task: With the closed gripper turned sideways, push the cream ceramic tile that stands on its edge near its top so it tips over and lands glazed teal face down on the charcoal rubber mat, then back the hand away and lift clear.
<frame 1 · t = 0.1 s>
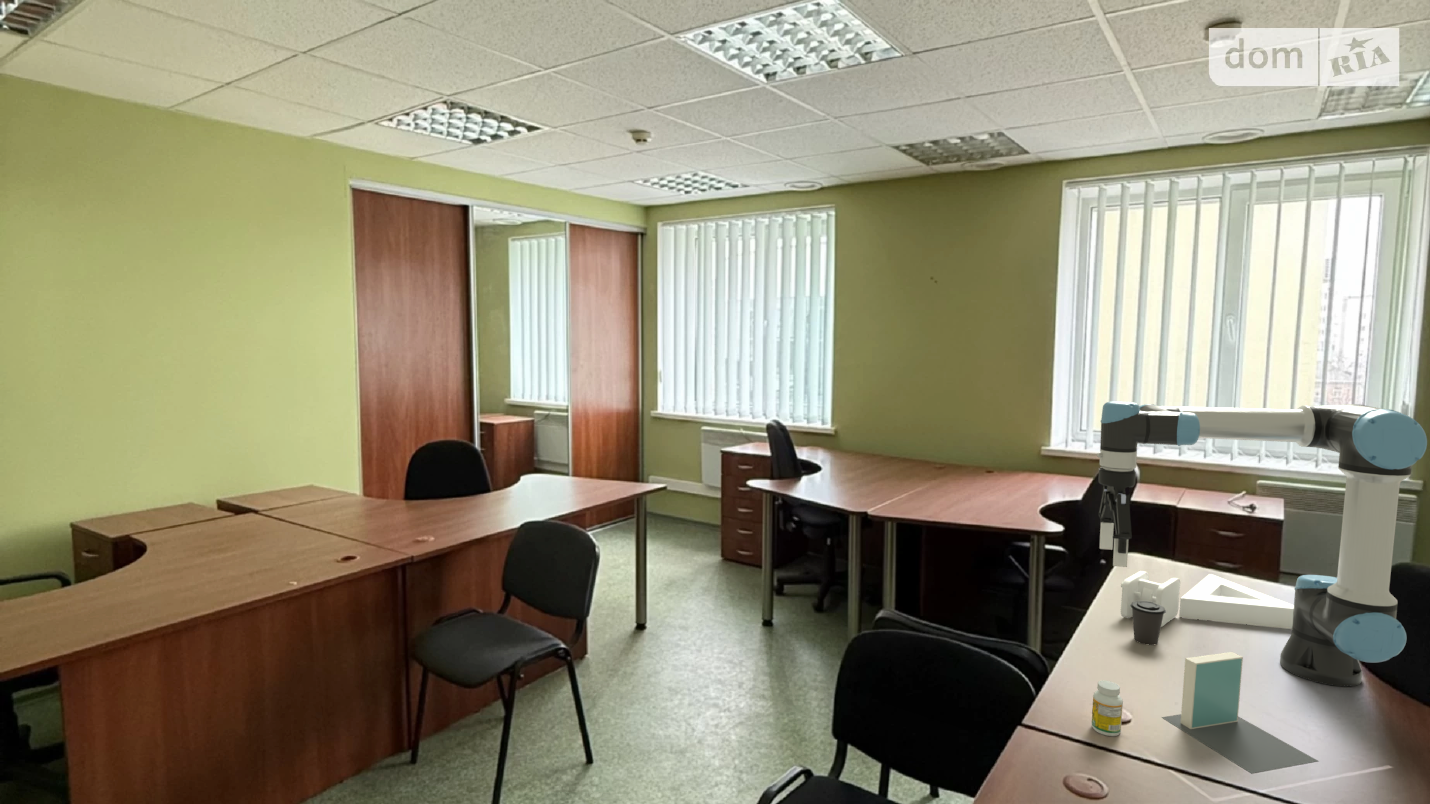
hand: (1112, 557, 174), 28 cm above the table, tool pointing down, fingers open, 13 cm apart
mat: (1235, 740, 147), on the table
supplement bottle: (1105, 730, 151), on the table
cable organizer: (1148, 618, 209), on the table
tile: (1209, 722, 153), resting on mat
coffee cup: (1145, 641, 194), on the table
triangle block: (1223, 609, 217), on the table
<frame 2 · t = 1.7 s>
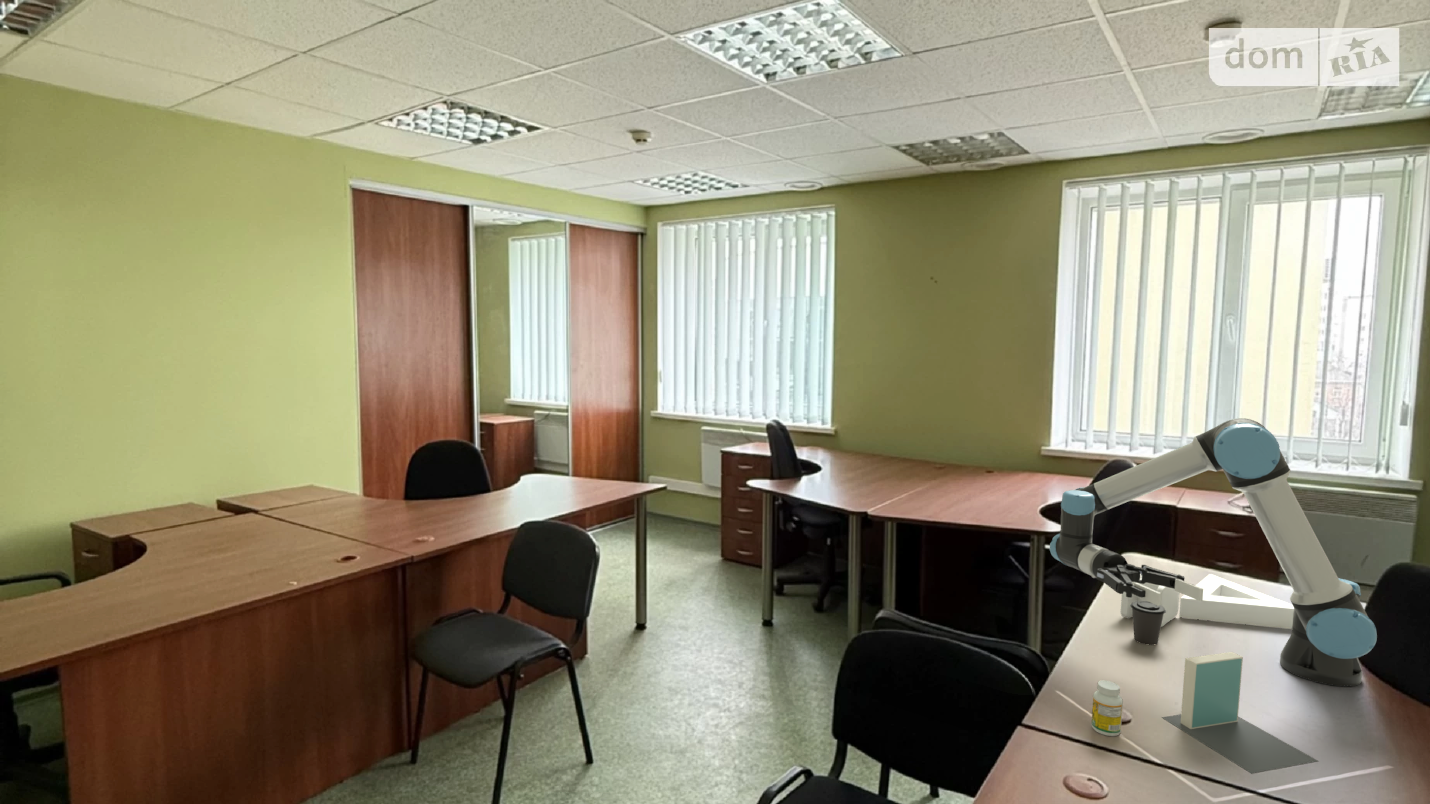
hand: (1180, 597, 159), 24 cm above the table, tool horizontal, fingers open, 10 cm apart
nothing on the table moved.
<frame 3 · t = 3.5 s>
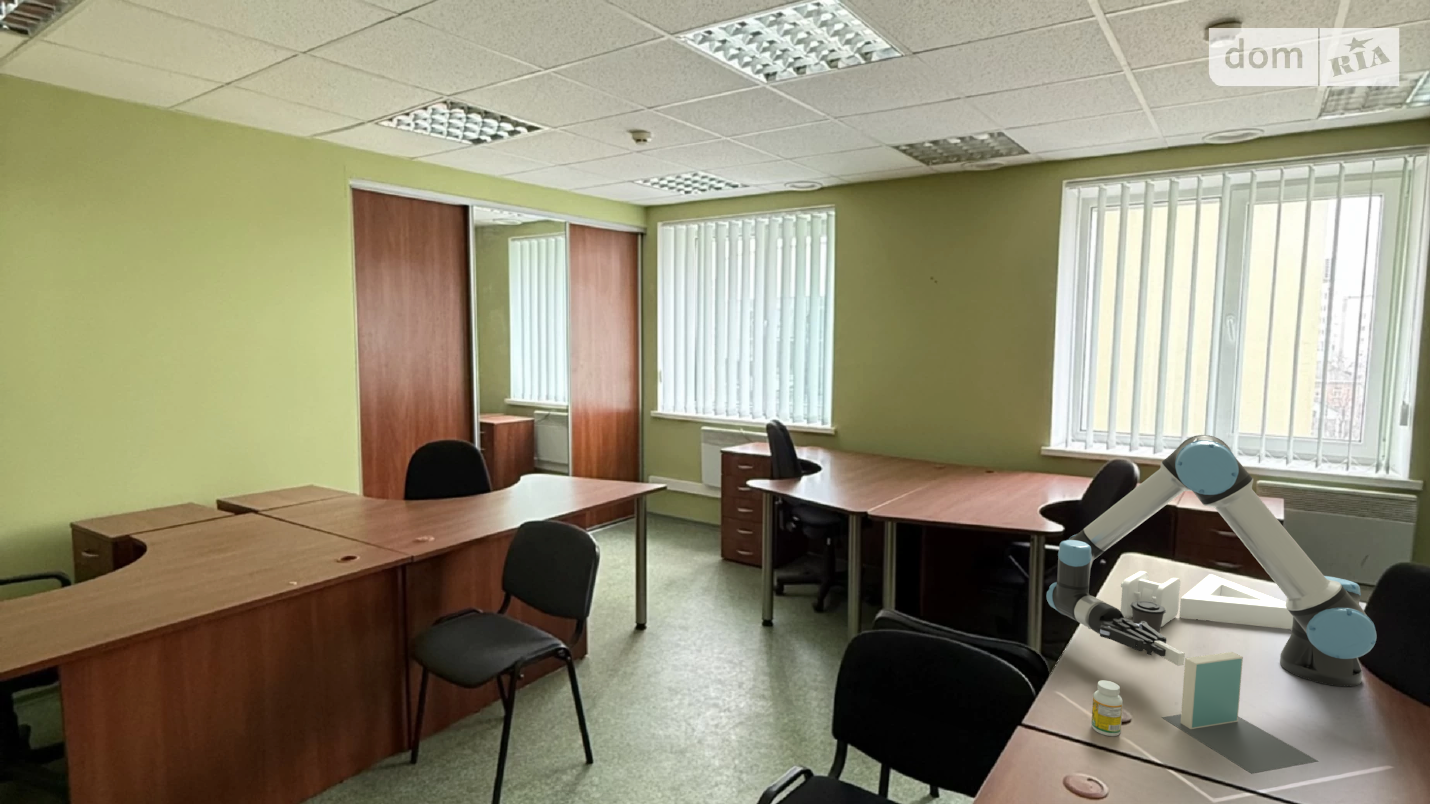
hand: (1181, 659, 159), 11 cm above the table, tool horizontal, fingers closed
nothing on the table moved.
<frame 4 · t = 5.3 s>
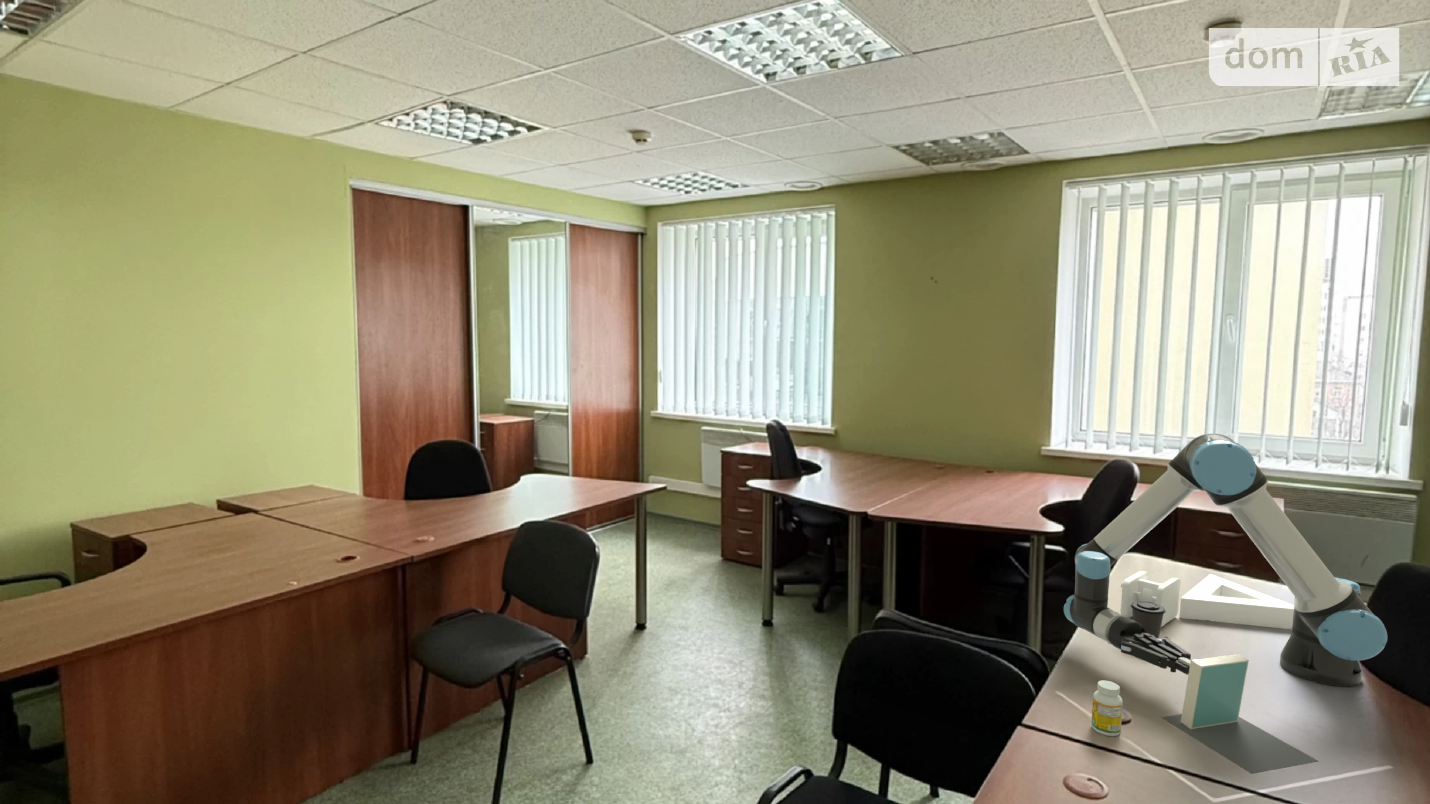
hand: (1207, 677, 153), 10 cm above the table, tool horizontal, fingers closed
tile: (1209, 721, 153), point 1 cm above the table, tilted 5°, touching gripper, mat
everything else where it was.
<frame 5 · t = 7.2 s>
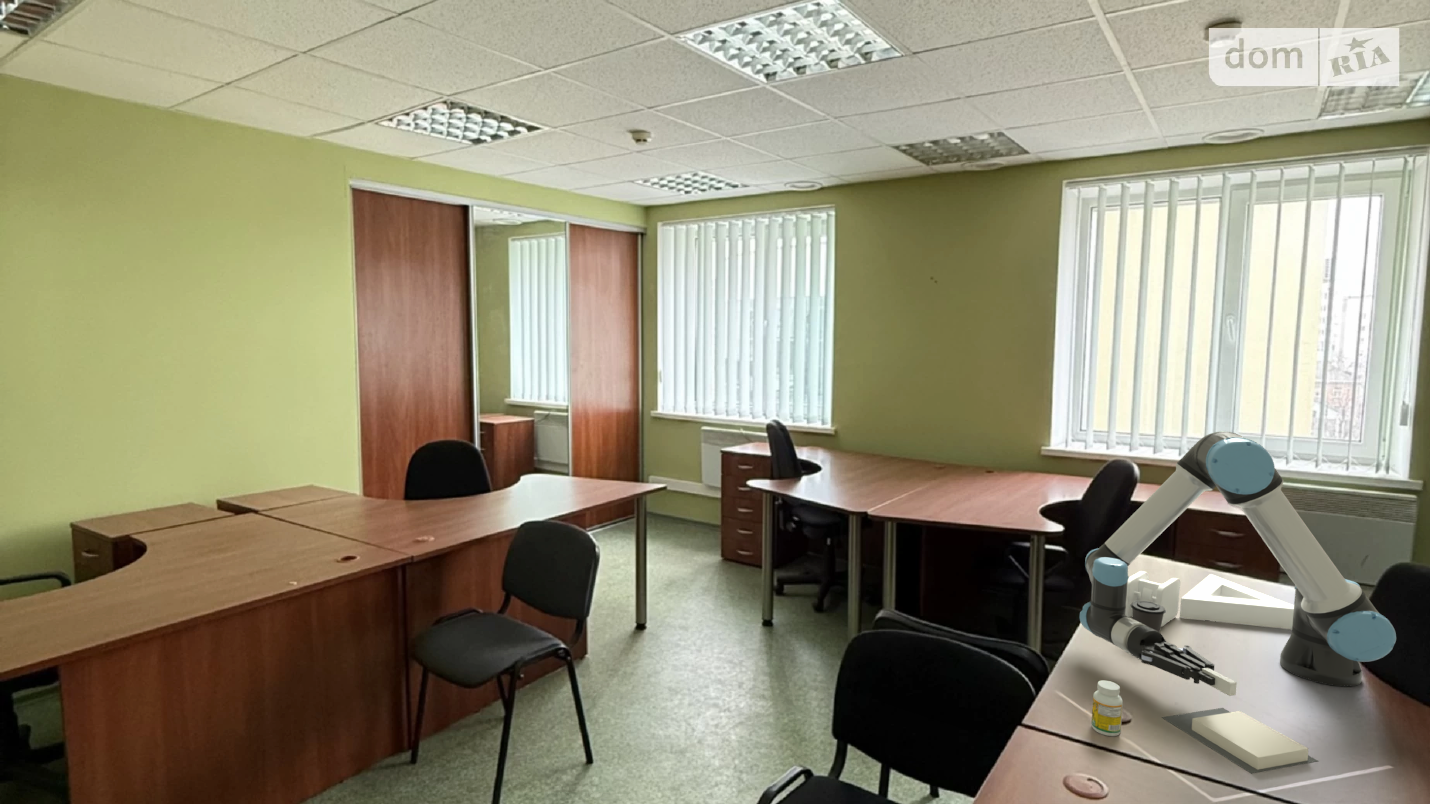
hand: (1233, 689, 148), 10 cm above the table, tool horizontal, fingers closed
tile: (1215, 720, 152), point 2 cm above the table, tilted 90°, touching mat
everything else where it was.
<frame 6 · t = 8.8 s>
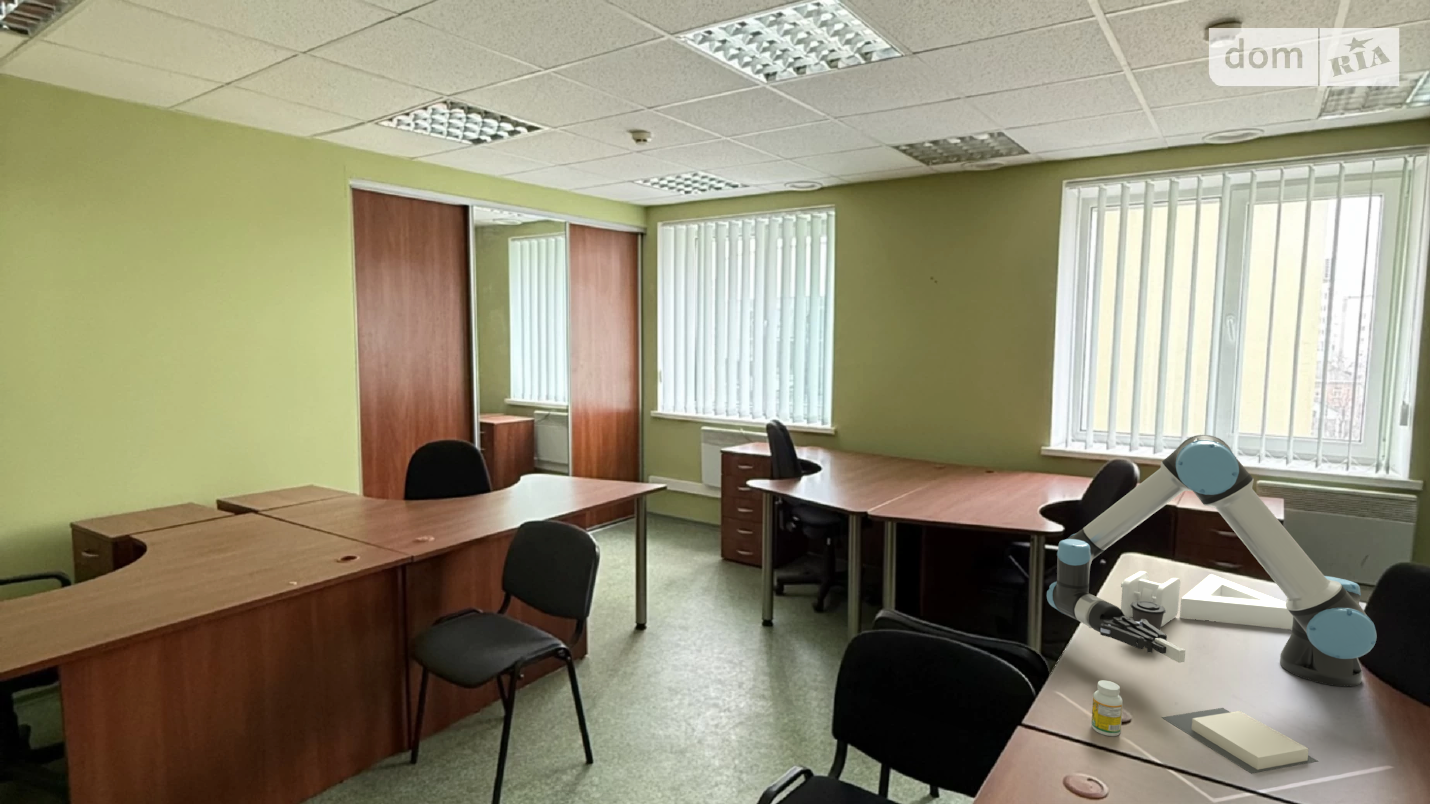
hand: (1181, 656, 159), 11 cm above the table, tool horizontal, fingers closed
nothing on the table moved.
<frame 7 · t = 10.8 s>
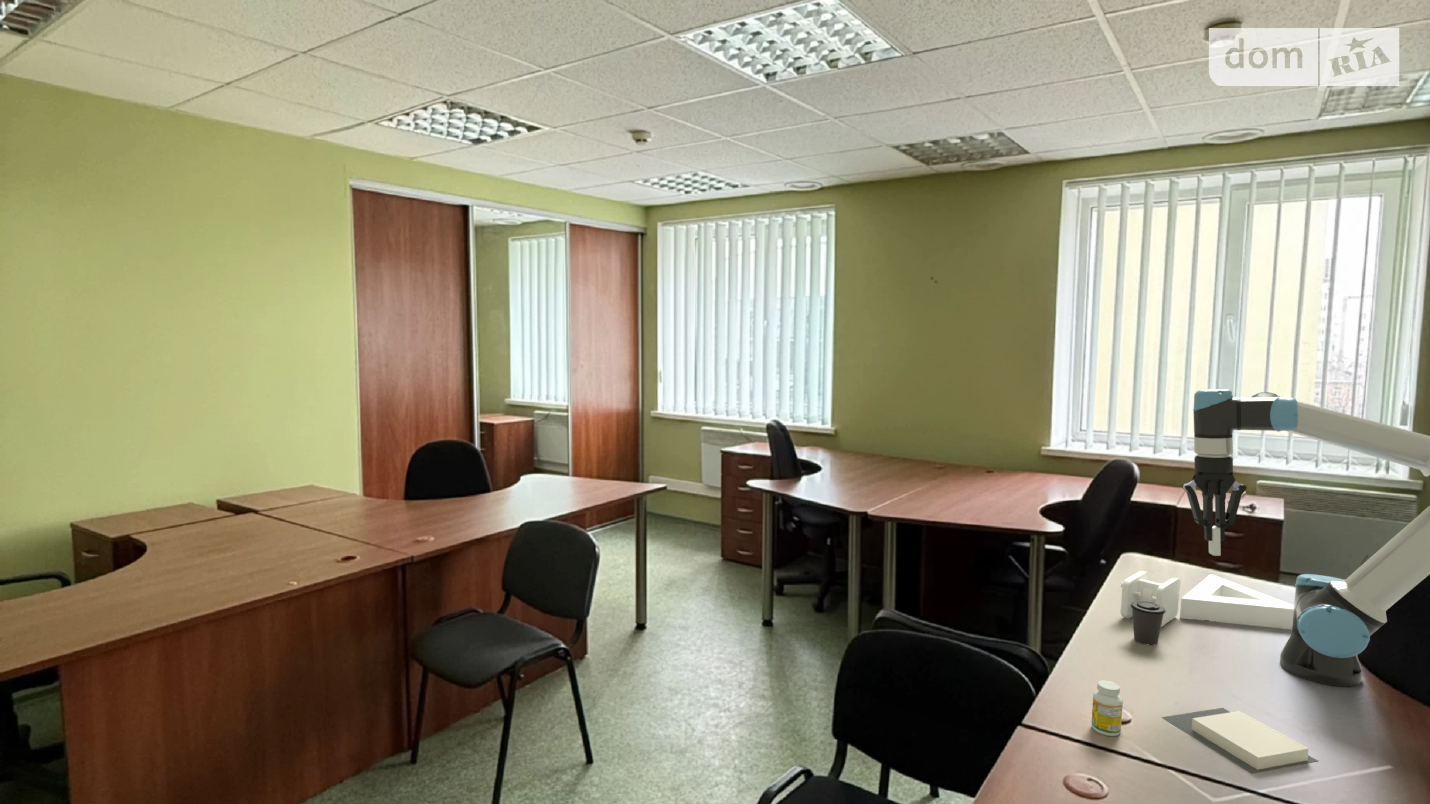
hand: (1214, 554, 175), 28 cm above the table, tool pointing down, fingers closed
nothing on the table moved.
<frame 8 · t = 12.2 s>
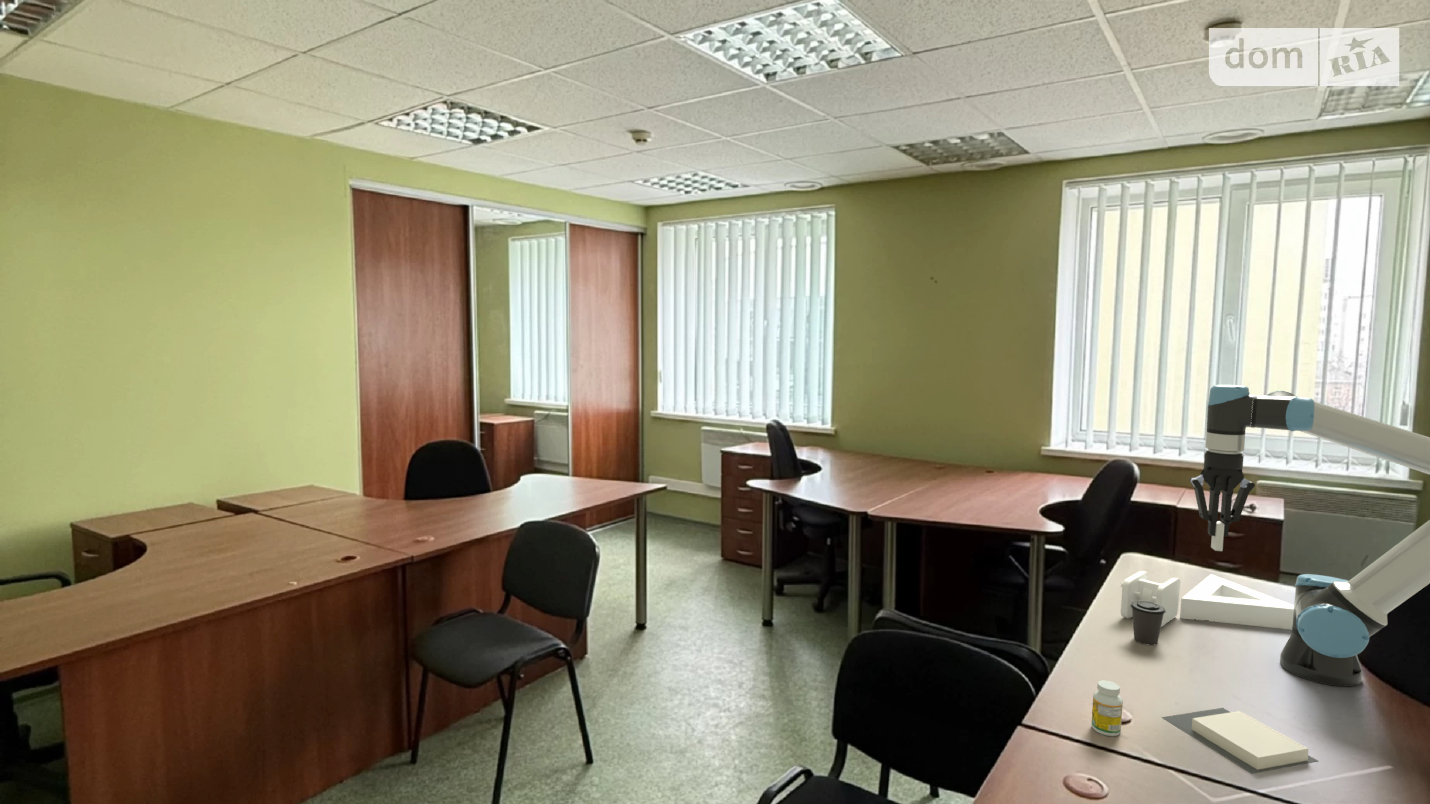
hand: (1216, 549, 175), 29 cm above the table, tool pointing down, fingers closed
nothing on the table moved.
at the end: tile tilted 90°; tile inside the target area on the mat (4.5 cm from its centre), point 1.7 cm above the mat's base; tile touching mat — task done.
